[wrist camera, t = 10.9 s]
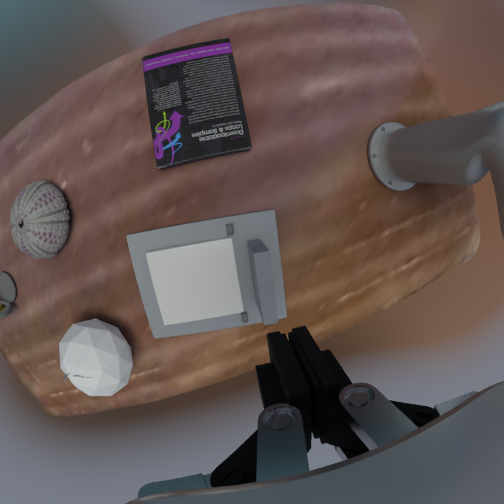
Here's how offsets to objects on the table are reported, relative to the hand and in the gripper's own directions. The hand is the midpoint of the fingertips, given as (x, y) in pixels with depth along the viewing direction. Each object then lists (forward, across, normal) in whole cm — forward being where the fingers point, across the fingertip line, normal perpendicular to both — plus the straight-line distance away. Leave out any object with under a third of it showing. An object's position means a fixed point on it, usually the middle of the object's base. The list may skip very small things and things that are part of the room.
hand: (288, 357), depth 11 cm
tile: (+30, +8, +6) cm, 31 cm away
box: (+33, +4, -22) cm, 39 cm away
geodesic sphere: (+32, +27, +15) cm, 45 cm away
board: (+32, +6, +6) cm, 33 cm away
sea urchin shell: (+32, +33, -9) cm, 47 cm away
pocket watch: (+32, +50, +3) cm, 59 cm away
